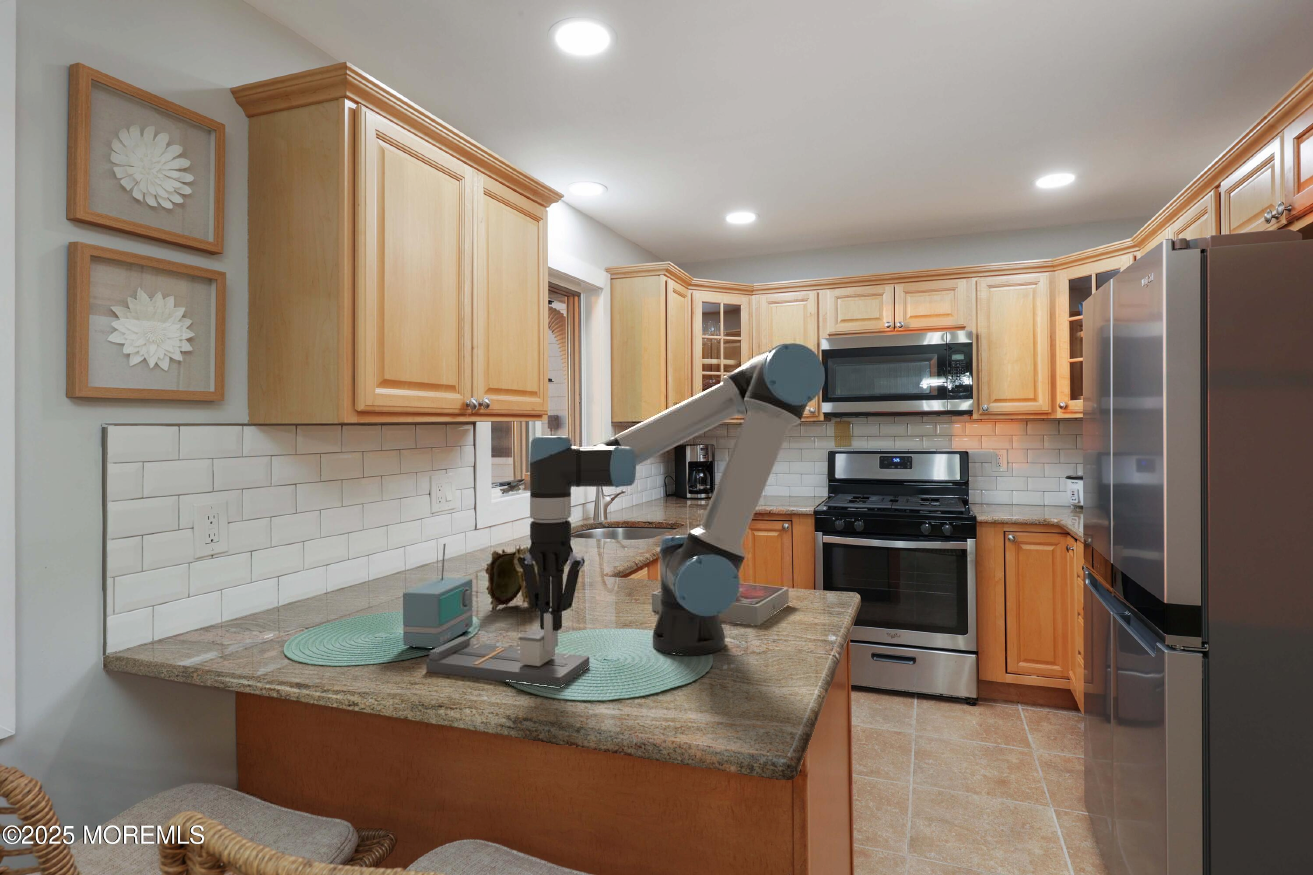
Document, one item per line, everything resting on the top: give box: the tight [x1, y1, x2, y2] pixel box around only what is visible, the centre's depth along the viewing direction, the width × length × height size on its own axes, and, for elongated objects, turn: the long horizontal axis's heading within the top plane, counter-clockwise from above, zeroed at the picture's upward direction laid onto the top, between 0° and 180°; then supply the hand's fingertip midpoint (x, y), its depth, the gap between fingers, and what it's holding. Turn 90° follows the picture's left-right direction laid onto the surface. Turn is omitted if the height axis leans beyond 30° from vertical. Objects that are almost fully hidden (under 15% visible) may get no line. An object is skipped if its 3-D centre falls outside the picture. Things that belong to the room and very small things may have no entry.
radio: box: [402, 543, 474, 648], centre depth 149 cm, size 16×9×20 cm, turn 168°
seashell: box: [484, 544, 539, 612], centre depth 175 cm, size 18×18×15 cm
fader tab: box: [518, 627, 556, 666], centre depth 128 cm, size 4×6×5 cm
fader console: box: [425, 636, 590, 687], centre depth 130 cm, size 28×12×4 cm, turn 71°
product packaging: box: [651, 582, 790, 626], centre depth 175 cm, size 22×28×5 cm
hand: (551, 647), depth 127 cm, fingers closed
